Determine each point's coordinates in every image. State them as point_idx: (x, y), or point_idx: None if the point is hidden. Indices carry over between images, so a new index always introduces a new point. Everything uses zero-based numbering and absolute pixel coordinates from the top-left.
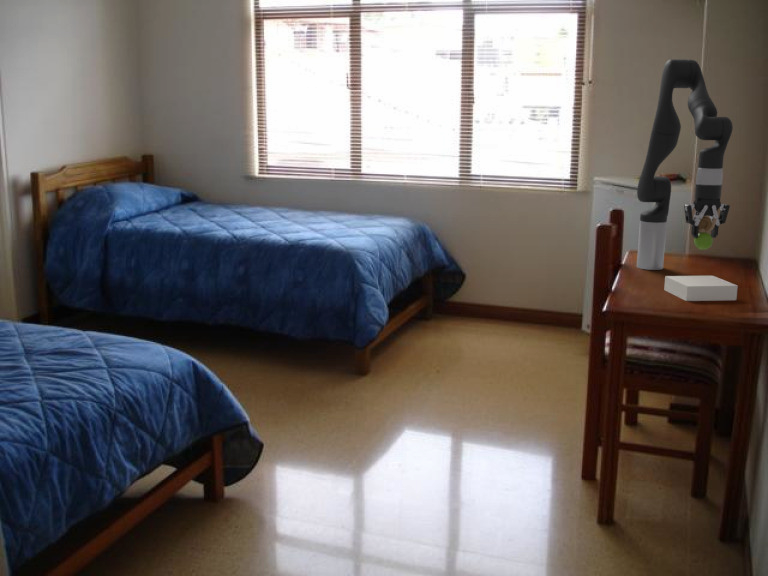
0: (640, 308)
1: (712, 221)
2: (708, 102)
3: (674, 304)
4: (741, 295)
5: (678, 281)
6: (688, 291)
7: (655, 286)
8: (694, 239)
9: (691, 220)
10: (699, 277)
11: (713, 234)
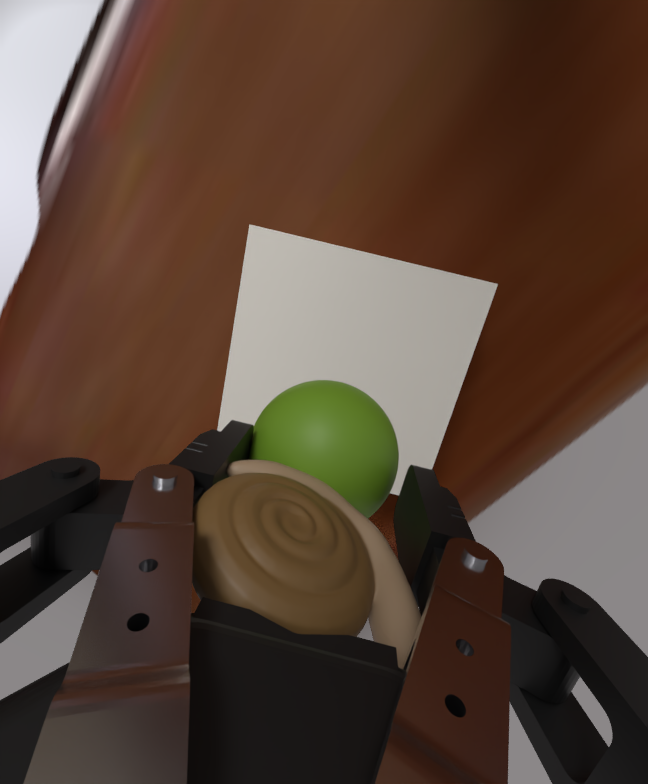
0: (38, 462)
1: (375, 639)
2: None
3: (167, 453)
4: (497, 418)
5: (236, 357)
6: None
7: (272, 149)
8: (256, 421)
9: (49, 583)
10: (394, 307)
11: (398, 520)
